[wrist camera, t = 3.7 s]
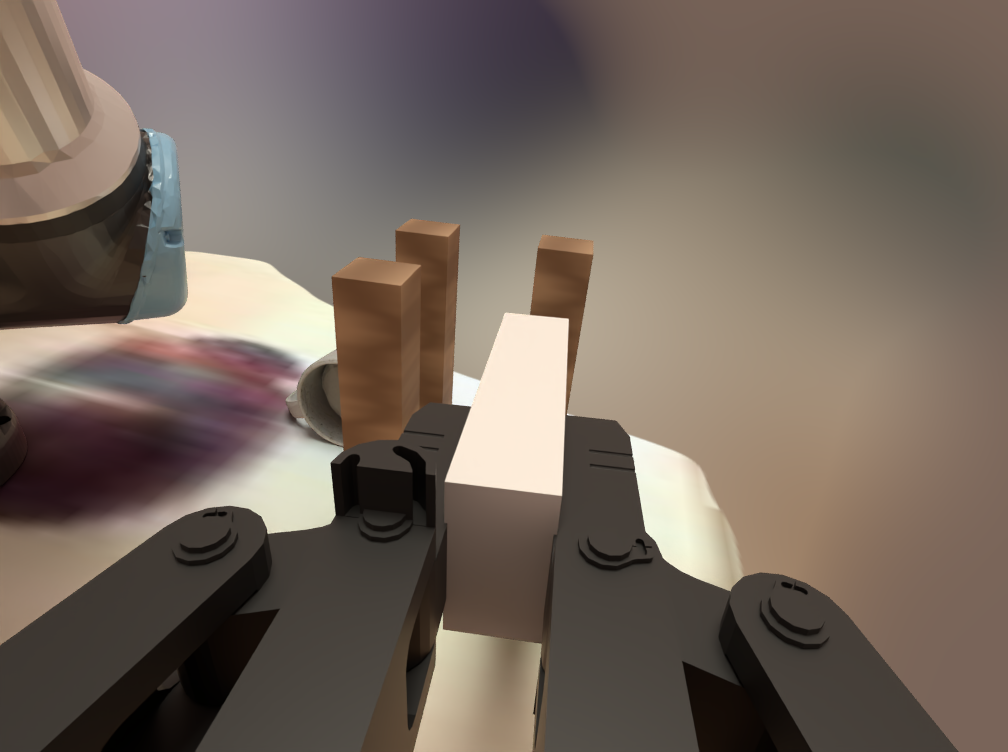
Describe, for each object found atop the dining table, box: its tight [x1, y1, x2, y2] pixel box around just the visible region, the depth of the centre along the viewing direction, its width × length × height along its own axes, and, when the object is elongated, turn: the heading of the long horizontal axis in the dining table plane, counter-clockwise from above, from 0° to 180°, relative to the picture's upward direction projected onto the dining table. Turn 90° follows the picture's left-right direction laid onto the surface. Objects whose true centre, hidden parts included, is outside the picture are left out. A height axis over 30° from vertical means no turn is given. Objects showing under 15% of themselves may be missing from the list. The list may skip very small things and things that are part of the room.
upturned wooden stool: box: [332, 219, 593, 451], centre depth 34 cm, size 14×13×18 cm
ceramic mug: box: [286, 349, 343, 446], centre depth 46 cm, size 11×8×8 cm
